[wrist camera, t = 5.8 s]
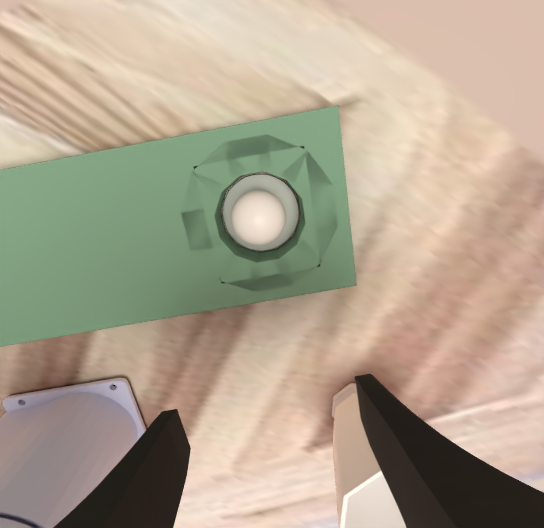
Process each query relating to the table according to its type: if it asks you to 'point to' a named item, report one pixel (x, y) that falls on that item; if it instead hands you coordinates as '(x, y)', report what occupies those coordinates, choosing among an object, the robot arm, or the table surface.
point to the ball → (258, 217)
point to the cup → (359, 470)
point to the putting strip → (170, 228)
